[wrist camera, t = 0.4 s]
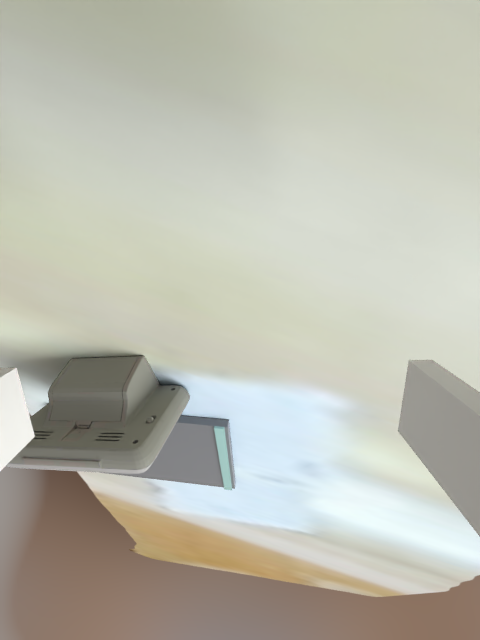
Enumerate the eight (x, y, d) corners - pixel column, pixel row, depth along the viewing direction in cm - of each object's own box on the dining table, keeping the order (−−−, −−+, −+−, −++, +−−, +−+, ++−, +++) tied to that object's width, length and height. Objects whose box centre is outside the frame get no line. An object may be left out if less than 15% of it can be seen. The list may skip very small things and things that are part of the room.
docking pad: (50, 403, 40) (44, 411, 39) (228, 419, 37) (227, 429, 36) (96, 465, 51) (92, 473, 50) (235, 481, 48) (234, 490, 47)
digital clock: (69, 394, 38) (9, 482, 30) (40, 343, 32) (-44, 435, 24) (194, 409, 37) (168, 506, 28) (188, 359, 31) (152, 462, 23)
